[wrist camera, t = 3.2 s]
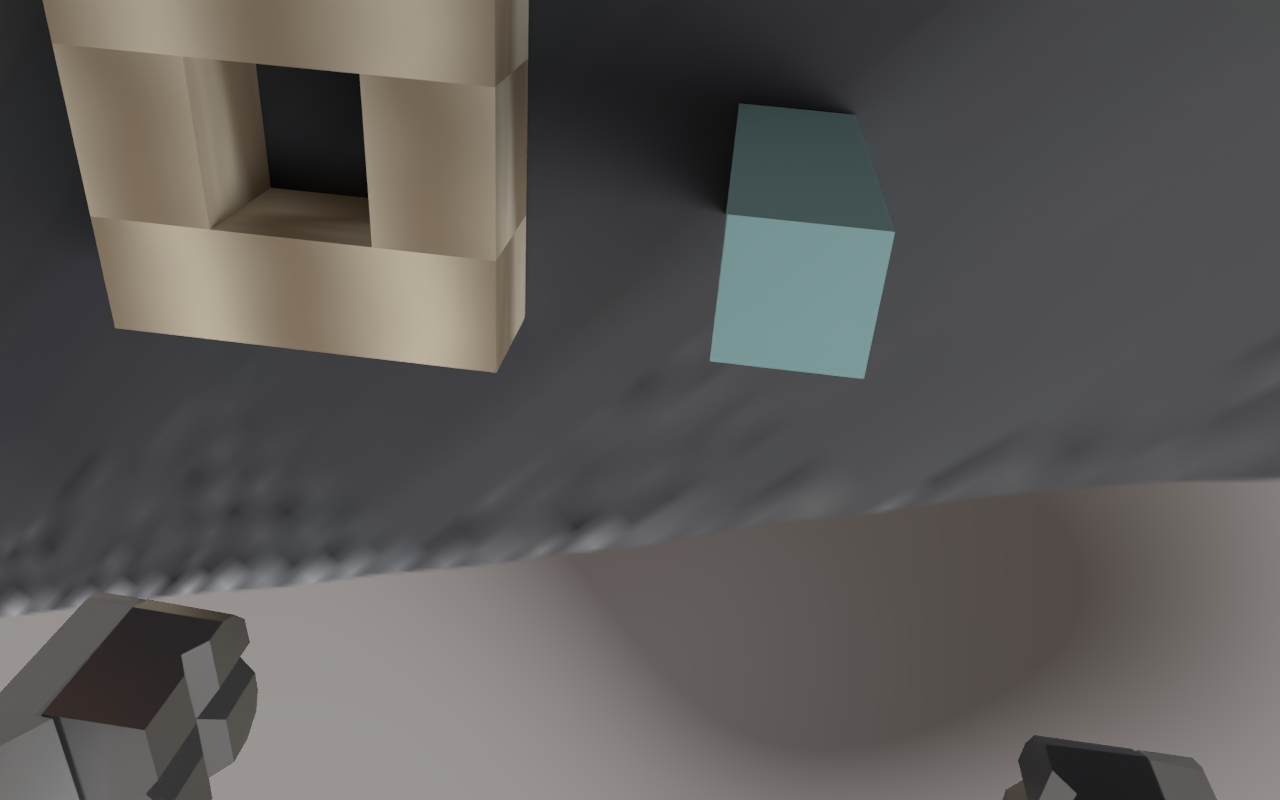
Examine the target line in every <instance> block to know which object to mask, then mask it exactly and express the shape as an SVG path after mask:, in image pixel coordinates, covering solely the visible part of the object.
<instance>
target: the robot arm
mask: <svg viewBox="0 0 1280 800" xmlns="http://www.w3.org/2000/svg"><path fill="white" fill-rule="evenodd" d="M249 643H250V642H249V637H248V632H247V628H246V624H245V619H243V618H241V617H238V616H236V615H232V614H226V613H221V612H215V611H209V610H204V609H198V608H193V607H186V606H182V605H176V604H170V603H164V602H159V601H154V600H148V599H147V600H144V599H138V598H132V597H127V596H121V595H115V594H109V593H104V592H102V593H100V594H98V595H96V596H94V597H91V598H89V599H87V600H86V601H85V602H84V603H83V604H82V605H81V606H80V607H79V608H78V609H77V610H76V611H75V613H74V614H73V615H72V616H71V617H70V618H69V619H68V620H67V621H66V622H65V623H64V624H63V626H62V627H61V628H60V629H59V630H58V631H57V632H56V633H55V634H54V635H53V636H52V637H51V638H50V640H49V641H48V642H47V643H46V644H45V645H44V646H43V647H42V648H41V649H40V651H38V653H37V654H36V655H35V656H34V657H33V658H32V659H31V660H30V661H29V662H28V663H27V664H26V666H25V667H24V668H23V669H22V670H21V671H20V672H19V673H18V674H17V675H16V676H15V677H14V678H13V680H12V681H11V682H10V683H9V684H8V685H7V686H6V687H5V688H4V689H3V690H2V691H1V692H0V800H212V794H211V789H210V782H209V777H211V776H212V775H214V774H215V773H217V772H219V771H220V770H222V769H224V768H225V767H227V766H228V765H230V764H232V763H233V762H234V761H235V759H236V758H237V756H238V754H239V752H240V751H241V749H242V747H243V745H244V744H245V742H246V740H247V738H248V735H249V732H250V729H251V726H252V722H253V719H254V716H255V713H256V707H257V693H258V689H257V682H256V676H255V672H254V671H253V670H252V669H251V668H250V667H249V666H248V665H247V664H246V663H245V662H244V661H243V660H242V659H241V657H240V656H241V655H242V653H243V652H244V650H245V649H246V647H247V646H248V644H249ZM1018 762H1019V766H1020V771H1021V775H1022V779H1023V780H1022V781H1020V782H1019V783H1017V784H1015V785H1014V786H1012V787H1010V788H1008V789H1007V790H1006V791H1005V794H1004V797H1003V799H1002V800H1217V799H1216V796H1215V794H1214V792H1213V790H1212V788H1211V786H1210V784H1209V782H1208V779H1207V777H1206V775H1205V773H1204V771H1203V768H1202V767H1201V766H1200V765H1199V764H1198V763H1197V762H1196V761H1195V760H1194V759H1193V758H1190V757H1183V756H1176V755H1169V754H1162V753H1155V752H1148V751H1141V750H1138V751H1135V750H1133V749H1129V748H1122V747H1115V746H1108V745H1101V744H1093V743H1086V742H1079V741H1072V740H1065V739H1058V738H1051V737H1044V736H1037V735H1034V736H1033V737H1031V738H1030V739H1029V740H1028V741H1027V742H1026V743H1025V745H1024V747H1023V750H1022V752H1021V754H1020V757H1019V759H1018Z"/></svg>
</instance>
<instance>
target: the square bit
mask: <svg viewBox="0 0 1280 800" xmlns="http://www.w3.org/2000/svg"><path fill="white" fill-rule="evenodd" d="M894 234H895V230H894V227H893V224H892V221H891V218H890V216H889V213H888V210H887V207H886V204H885V201H884V198H883V195H882V192H881V189H880V186H879V183H878V180H877V177H876V174H875V171H874V168H873V165H872V162H871V159H870V156H869V153H868V150H867V147H866V144H865V141H864V138H863V135H862V132H861V129H860V126H859V123H858V120H857V117H856V115H853V114H843V113H832V112H822V111H812V110H802V109H792V108H781V107H771V106H761V105H751V104H741V103H739V109H738V117H737V126H736V134H735V142H734V151H733V159H732V168H731V176H730V184H729V193H728V201H727V209H726V218H725V227H724V236H723V245H722V254H721V264H720V273H719V282H718V291H717V300H716V309H715V318H714V327H713V336H712V346H711V355H710V361H712V362H721V363H730V364H738V365H747V366H756V367H765V368H773V369H782V370H791V371H799V372H808V373H817V374H825V375H834V376H843V377H852V378H860V379H864V376H865V371H866V366H867V362H868V357H869V352H870V347H871V343H872V338H873V333H874V329H875V324H876V319H877V314H878V310H879V305H880V300H881V296H882V291H883V286H884V282H885V277H886V272H887V267H888V263H889V258H890V253H891V249H892V244H893V239H894Z"/></svg>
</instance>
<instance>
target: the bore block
mask: <svg viewBox="0 0 1280 800" xmlns="http://www.w3.org/2000/svg"><path fill="white" fill-rule="evenodd" d="M43 5H44V9H45V14H46V18H47V23H48V27H49V32H50V36H51V41H52V45H53V50H54V54H55V59H56V63H57V68H58V72H59V77H60V81H61V86H62V90H63V95H64V99H65V104H66V108H67V113H68V117H69V122H70V126H71V131H72V135H73V140H74V144H75V149H76V153H77V158H78V162H79V167H80V171H81V176H82V180H83V185H84V190H85V194H86V199H87V203H88V208H89V212H90V217H91V221H92V226H93V230H94V235H95V239H96V244H97V248H98V253H99V257H100V262H101V266H102V271H103V275H104V280H105V284H106V289H107V293H108V298H109V302H110V307H111V311H112V316H113V320H114V325H115V328H120V329H128V330H137V331H145V332H154V333H162V334H171V335H179V336H188V337H196V338H205V339H213V340H222V341H230V342H239V343H247V344H256V345H264V346H273V347H281V348H290V349H298V350H307V351H315V352H324V353H332V354H341V355H349V356H358V357H366V358H375V359H383V360H392V361H400V362H409V363H417V364H426V365H434V366H443V367H452V368H460V369H469V370H477V371H486V372H494V373H496V372H497V371H498V369H499V367H500V365H501V363H502V361H503V359H504V357H505V355H506V353H507V351H508V349H509V347H510V345H511V343H512V341H513V340H514V338H515V336H516V334H517V332H518V330H519V328H520V326H521V324H522V322H523V320H524V318H525V270H526V188H527V107H528V26H529V0H43ZM256 64H265V65H275V66H285V67H295V68H305V69H316V70H326V71H336V72H346V73H356V74H360V88H361V102H362V116H363V130H364V144H365V158H366V172H367V186H368V198H363V197H353V196H344V195H335V194H325V193H316V192H307V191H297V190H288V189H279V188H271V183H270V175H269V167H268V159H267V151H266V143H265V134H264V126H263V118H262V110H261V102H260V94H259V86H258V78H257V69H256Z"/></svg>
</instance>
